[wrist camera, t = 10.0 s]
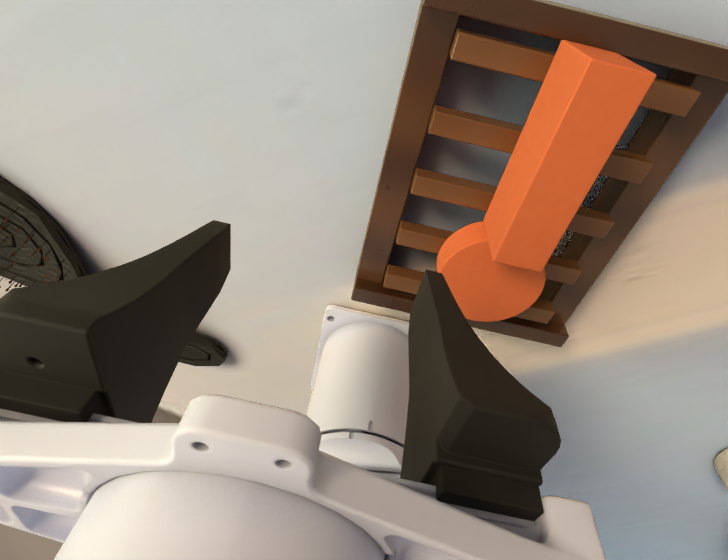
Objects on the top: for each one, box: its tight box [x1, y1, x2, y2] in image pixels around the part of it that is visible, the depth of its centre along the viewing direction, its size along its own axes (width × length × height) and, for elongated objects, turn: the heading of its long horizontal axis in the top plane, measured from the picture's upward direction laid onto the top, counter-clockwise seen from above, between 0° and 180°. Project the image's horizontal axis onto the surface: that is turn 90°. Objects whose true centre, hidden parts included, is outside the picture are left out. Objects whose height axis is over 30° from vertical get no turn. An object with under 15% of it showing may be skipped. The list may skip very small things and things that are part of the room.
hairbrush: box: [0, 177, 228, 366], centre depth 28 cm, size 8×4×25 cm
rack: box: [351, 0, 728, 347], centre depth 21 cm, size 16×13×3 cm
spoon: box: [436, 40, 656, 322], centre depth 19 cm, size 13×5×4 cm, turn 169°
